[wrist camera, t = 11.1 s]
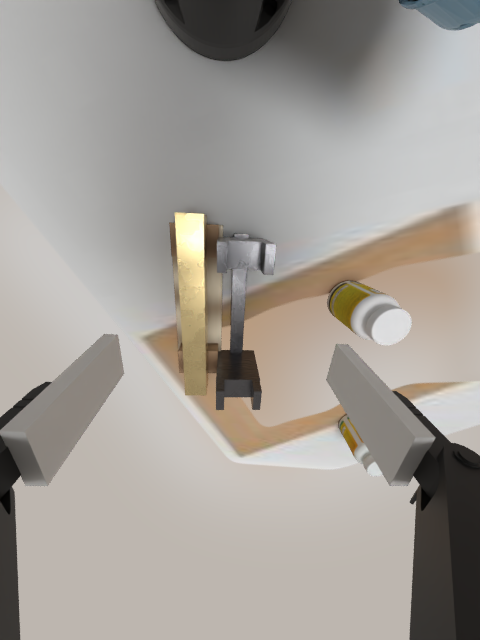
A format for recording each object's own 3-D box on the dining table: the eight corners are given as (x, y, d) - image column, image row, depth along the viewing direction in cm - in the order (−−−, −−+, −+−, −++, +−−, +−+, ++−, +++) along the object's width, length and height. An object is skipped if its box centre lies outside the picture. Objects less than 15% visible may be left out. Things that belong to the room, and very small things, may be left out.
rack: (219, 232, 32) (216, 236, 22) (262, 234, 32) (277, 238, 22) (218, 367, 40) (215, 412, 30) (252, 367, 40) (260, 412, 31)
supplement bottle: (353, 407, 45) (384, 452, 36) (368, 421, 47) (401, 467, 38) (332, 423, 46) (357, 470, 38) (347, 435, 48) (374, 483, 39)
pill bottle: (327, 321, 38) (365, 357, 27) (324, 285, 35) (363, 310, 25) (365, 311, 37) (417, 344, 27) (364, 275, 35) (420, 296, 25)
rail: (181, 214, 28) (174, 212, 24) (206, 215, 28) (203, 214, 24) (189, 378, 37) (185, 395, 33) (208, 378, 37) (206, 395, 33)
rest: (170, 222, 31) (165, 222, 28) (223, 225, 31) (222, 225, 28) (179, 362, 39) (176, 372, 36) (221, 362, 40) (220, 373, 37)
